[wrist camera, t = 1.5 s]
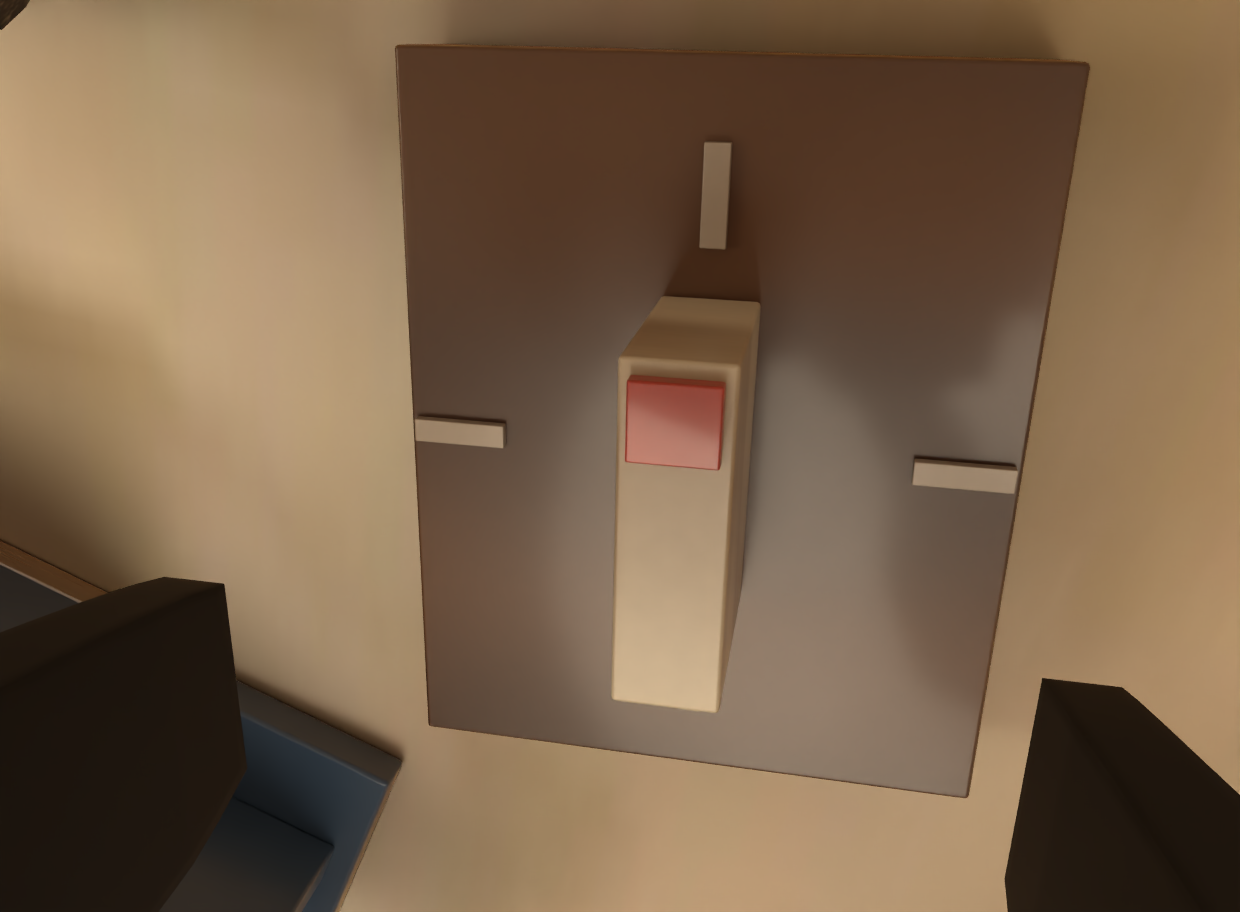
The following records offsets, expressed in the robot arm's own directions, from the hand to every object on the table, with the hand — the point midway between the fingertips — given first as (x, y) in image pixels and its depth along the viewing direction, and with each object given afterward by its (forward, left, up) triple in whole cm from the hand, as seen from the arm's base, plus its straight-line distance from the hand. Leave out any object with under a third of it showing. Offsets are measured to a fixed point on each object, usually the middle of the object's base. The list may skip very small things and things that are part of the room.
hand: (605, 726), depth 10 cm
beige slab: (0, 0, -7) cm, 7 cm away
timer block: (0, 0, -9) cm, 9 cm away
